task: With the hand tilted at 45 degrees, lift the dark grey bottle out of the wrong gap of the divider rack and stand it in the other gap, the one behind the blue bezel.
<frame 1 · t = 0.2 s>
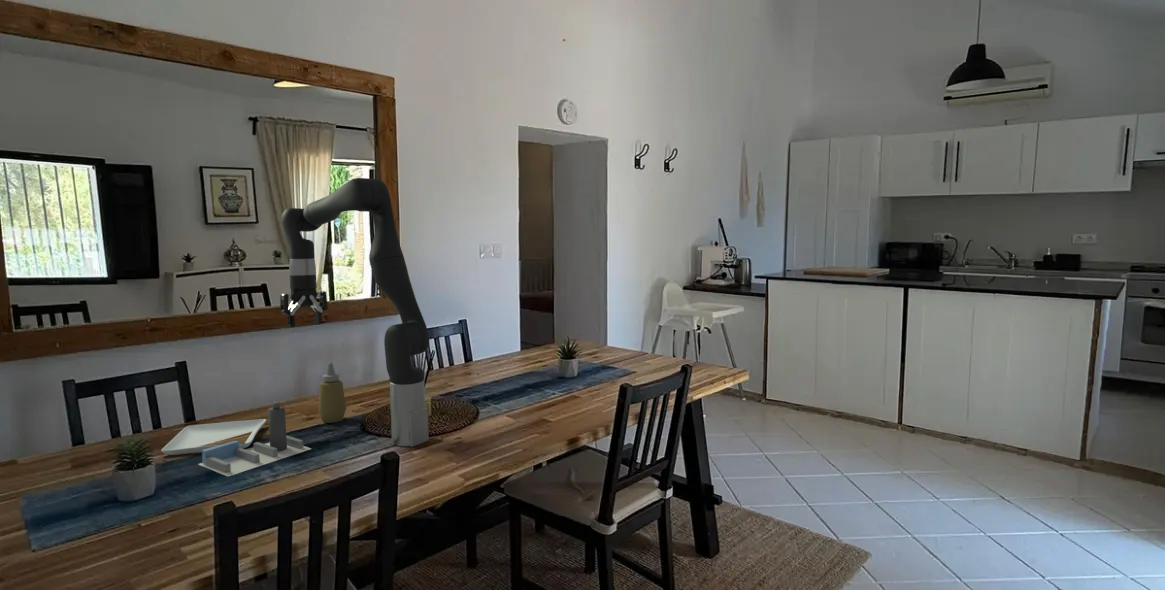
hand: (305, 325, 197), 29 cm above the table, tool pointing down, fingers open, 8 cm apart
divider rack: (256, 459, 163), on the table
squeeze bottle: (332, 421, 196), on the table
dark grey bottle: (278, 449, 168), point 1 cm above the table, touching divider rack
salad plate: (217, 445, 176), on the table
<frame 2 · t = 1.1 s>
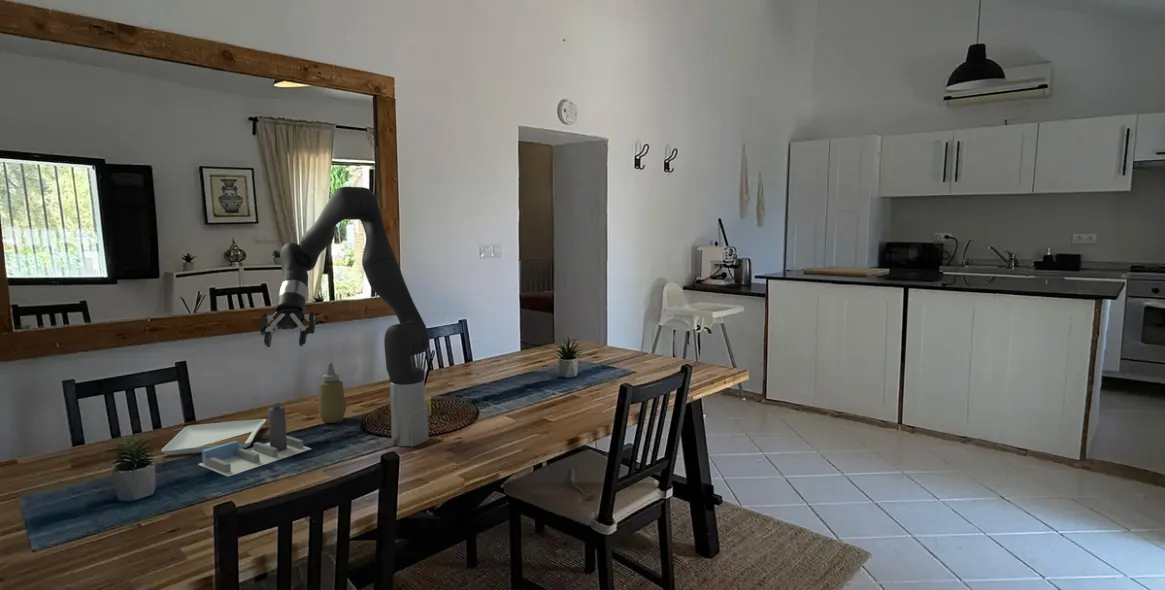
hand: (284, 345, 177), 27 cm above the table, tool tilted 45°, fingers open, 8 cm apart
nothing on the table moved.
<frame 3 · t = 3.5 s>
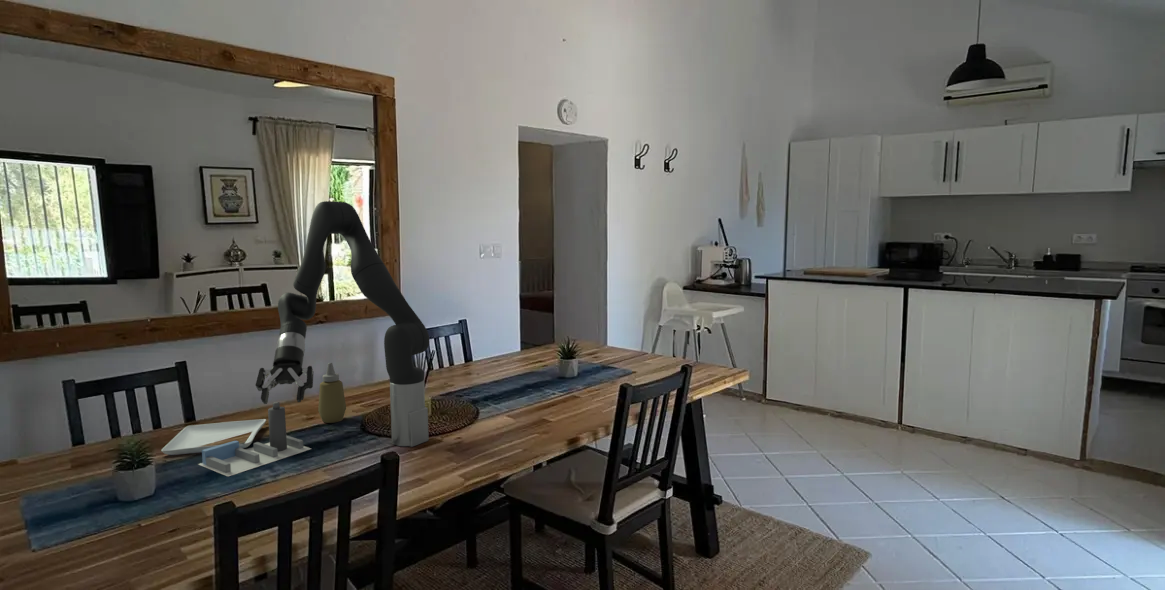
hand: (281, 401, 173), 12 cm above the table, tool tilted 45°, fingers open, 8 cm apart
nothing on the table moved.
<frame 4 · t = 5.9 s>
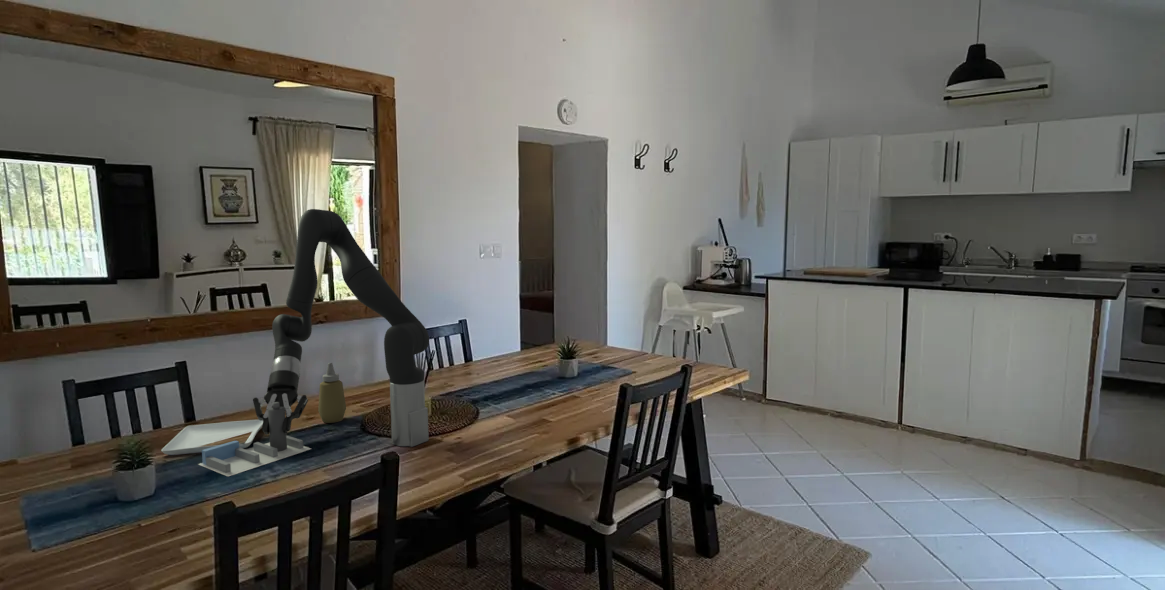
hand: (275, 432, 166), 6 cm above the table, tool tilted 45°, fingers closed on dark grey bottle, 4 cm apart
dark grey bottle: (278, 449, 168), point 1 cm above the table, touching divider rack, gripper
everything else where it was.
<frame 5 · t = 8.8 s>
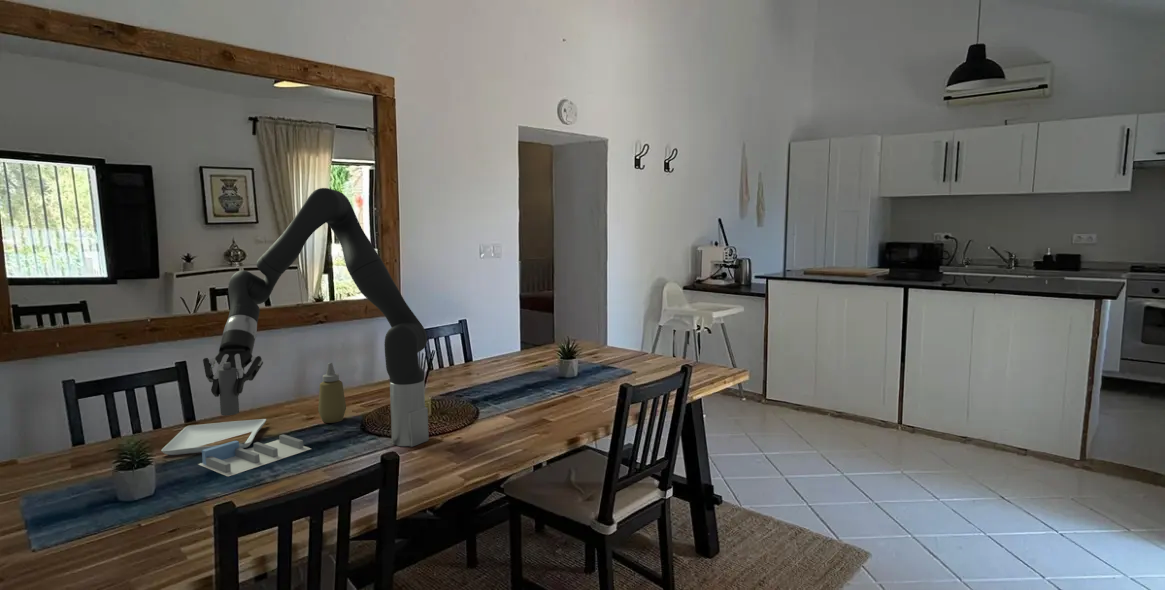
hand: (226, 394, 155), 19 cm above the table, tool tilted 45°, fingers closed on dark grey bottle, 4 cm apart
dark grey bottle: (230, 412, 157), point 14 cm above the table, touching gripper
everything else where it was.
when the fingers open (8 cm above the table, at t = 11.9 s): dark grey bottle drops 1 cm, resting on divider rack.
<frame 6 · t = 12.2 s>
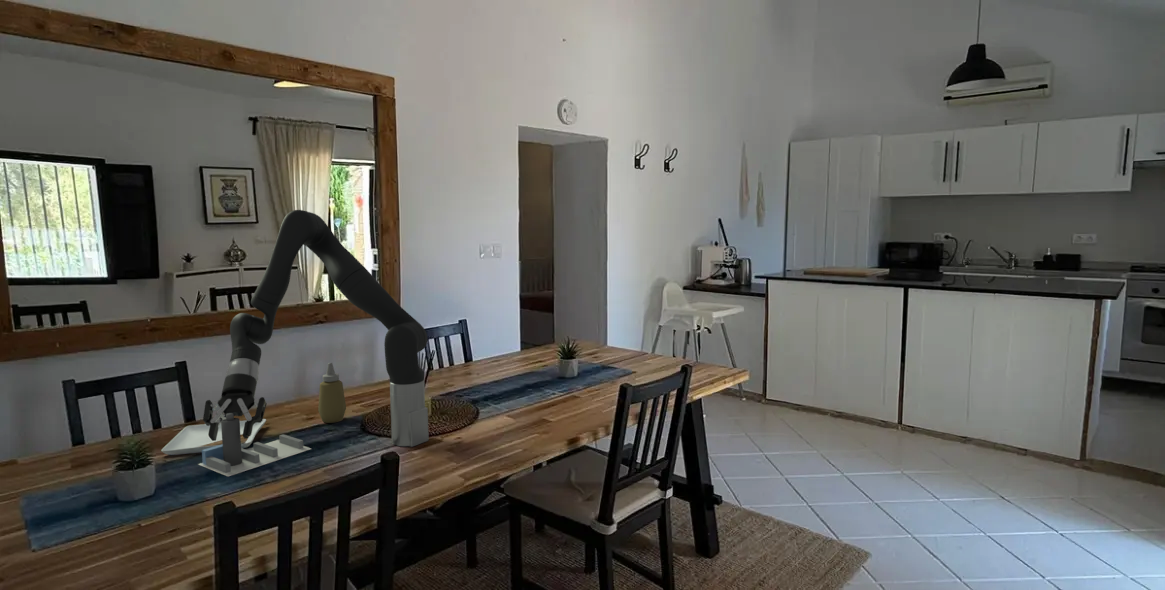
hand: (229, 438, 156), 8 cm above the table, tool tilted 45°, fingers open, 6 cm apart
dark grey bottle: (233, 463, 158), point 1 cm above the table, touching divider rack
everything else where it was.
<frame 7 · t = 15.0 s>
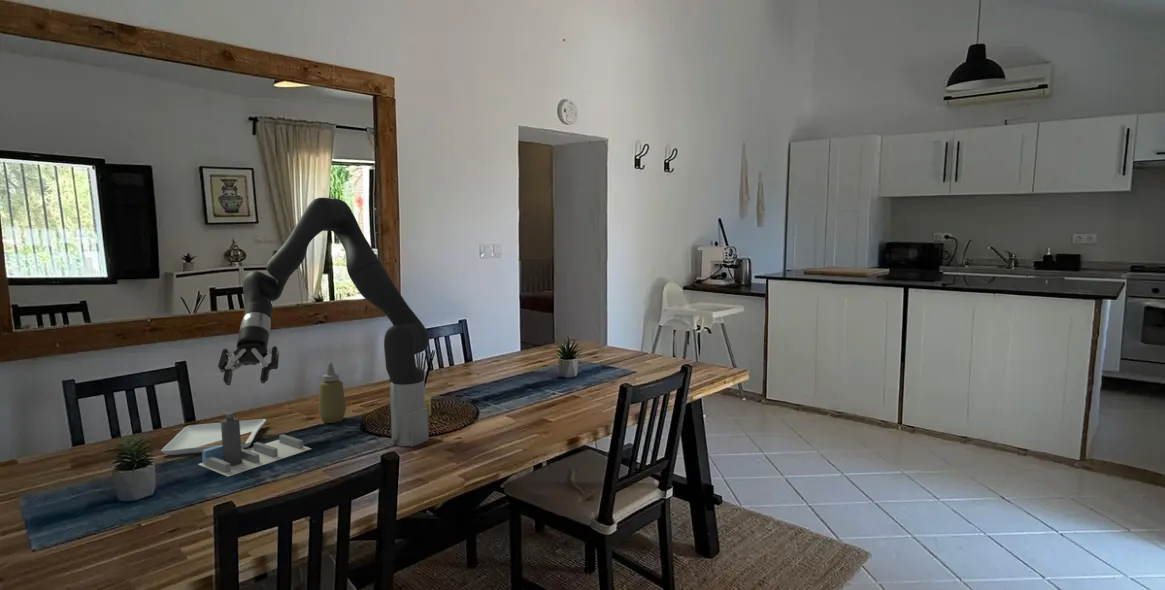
hand: (245, 382, 168), 19 cm above the table, tool tilted 45°, fingers open, 8 cm apart
nothing on the table moved.
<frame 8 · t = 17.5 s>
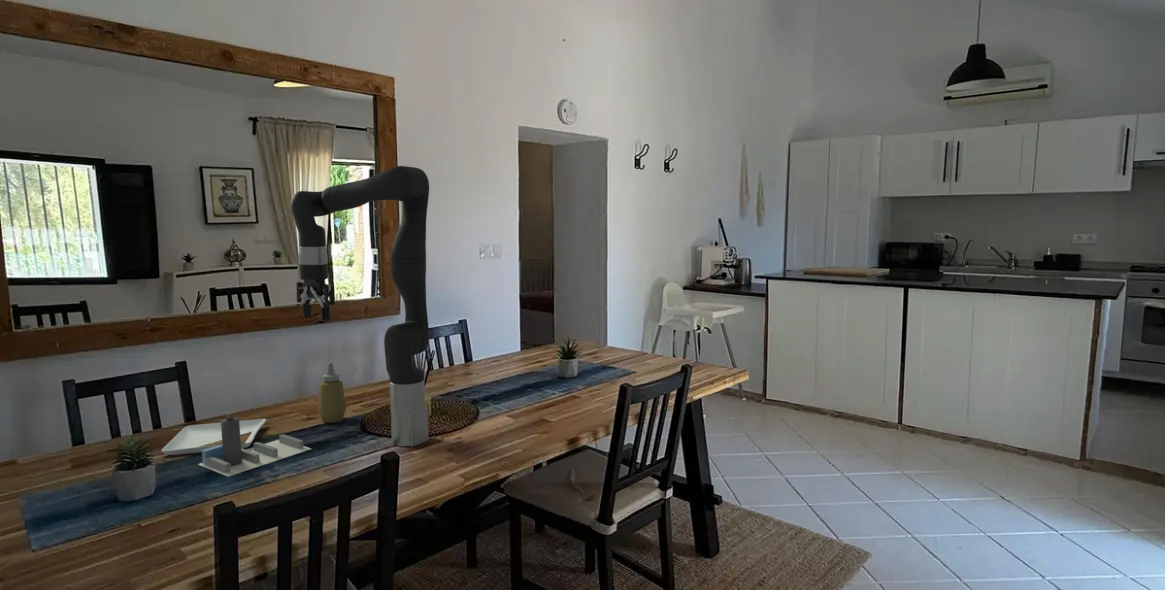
hand: (316, 319, 182), 33 cm above the table, tool pointing down, fingers open, 8 cm apart
nothing on the table moved.
at the end: dark grey bottle 0.1 cm from the target spot on the divider rack, point 1.1 cm above the divider rack's base; dark grey bottle tilted 2°; the gripper is holding nothing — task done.
